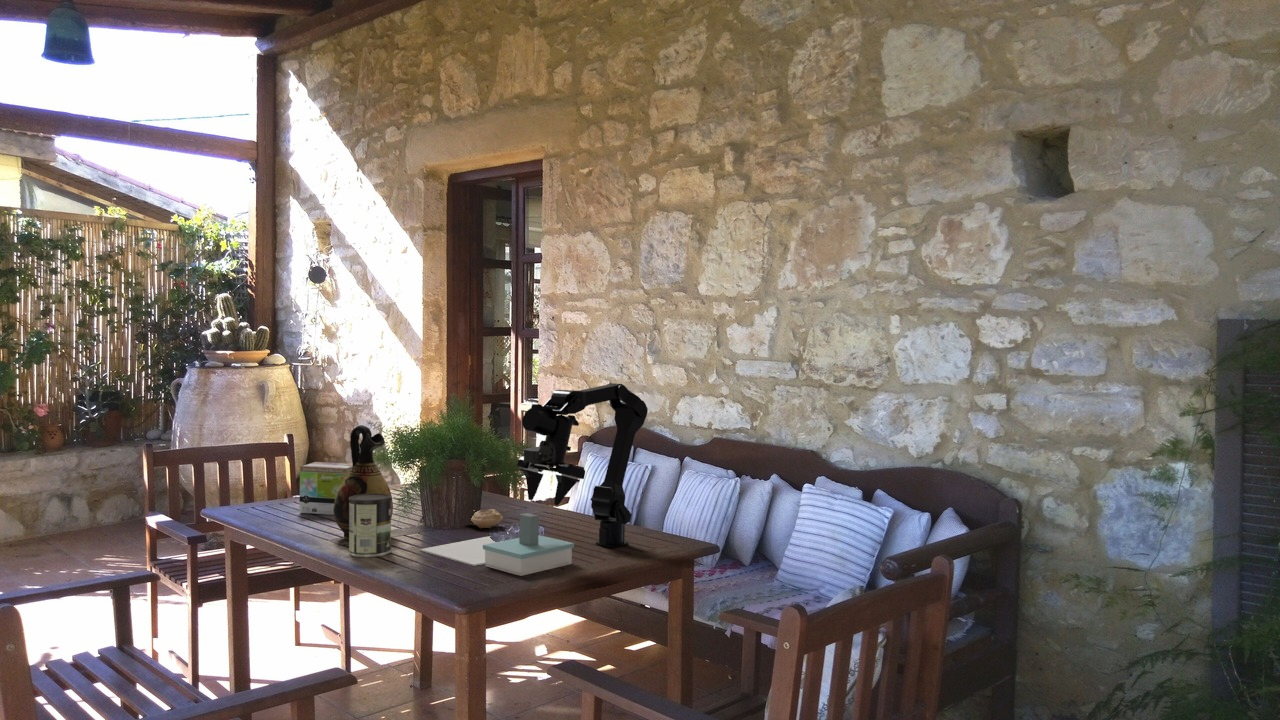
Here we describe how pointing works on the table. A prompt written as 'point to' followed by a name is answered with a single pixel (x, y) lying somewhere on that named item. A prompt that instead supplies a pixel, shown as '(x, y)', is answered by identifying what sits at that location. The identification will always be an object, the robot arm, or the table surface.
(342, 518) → the ceramic jug
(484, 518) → the pottery oil lamp
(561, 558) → the parts tub
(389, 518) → the coffee can
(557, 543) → the teal lid
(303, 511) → the tea box
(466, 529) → the table surface
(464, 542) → the grey mat
